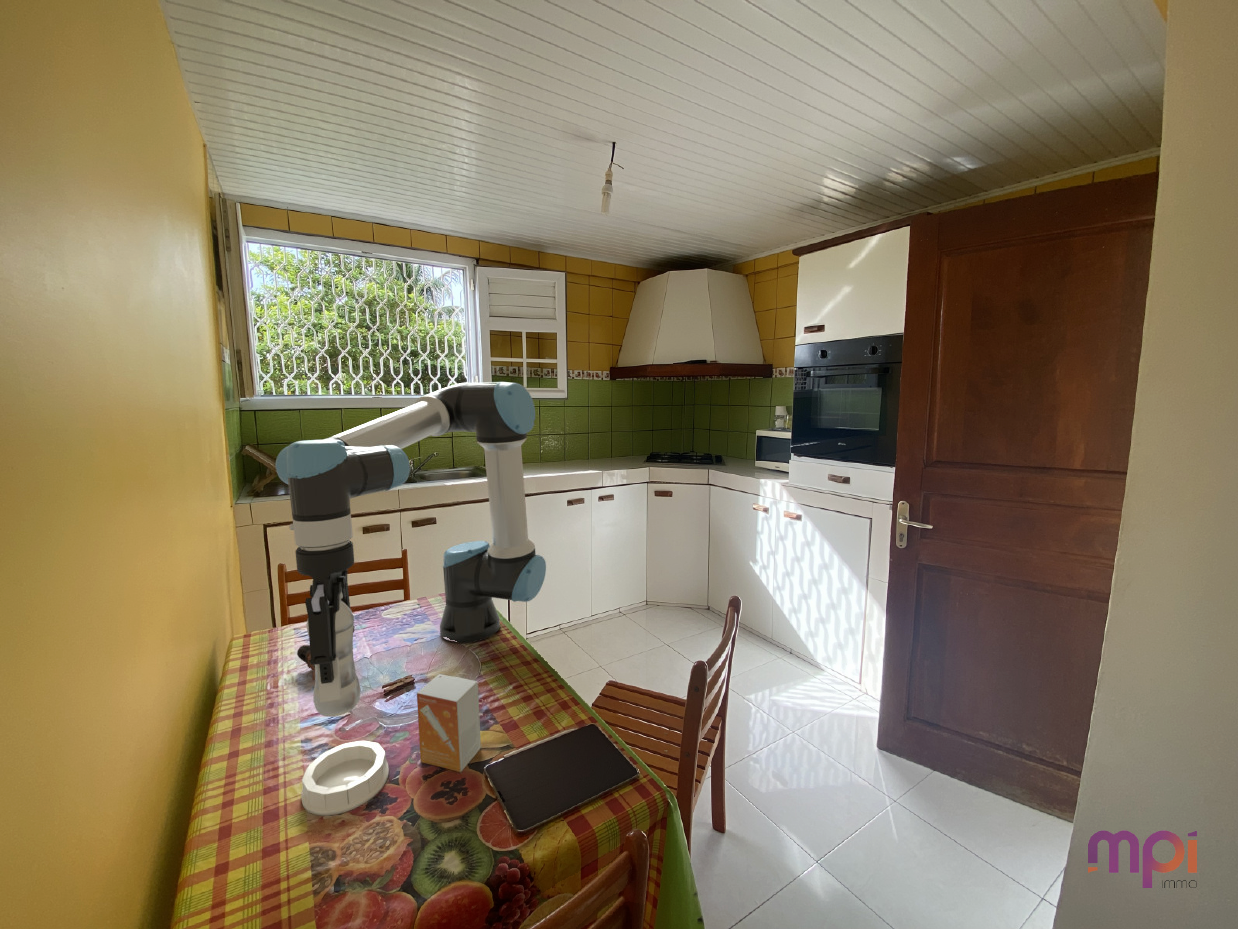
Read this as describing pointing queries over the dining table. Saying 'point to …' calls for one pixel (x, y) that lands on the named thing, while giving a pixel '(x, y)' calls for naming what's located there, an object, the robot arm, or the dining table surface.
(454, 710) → the small box
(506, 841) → the dining table surface
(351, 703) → the plastic bottle
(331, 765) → the bowl
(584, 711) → the dining table surface
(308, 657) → the broken clay pot
